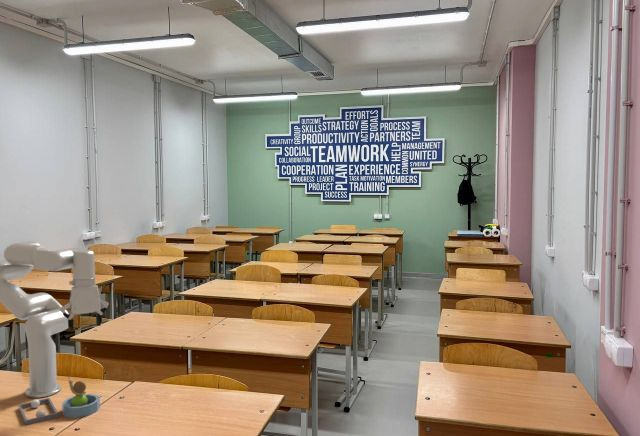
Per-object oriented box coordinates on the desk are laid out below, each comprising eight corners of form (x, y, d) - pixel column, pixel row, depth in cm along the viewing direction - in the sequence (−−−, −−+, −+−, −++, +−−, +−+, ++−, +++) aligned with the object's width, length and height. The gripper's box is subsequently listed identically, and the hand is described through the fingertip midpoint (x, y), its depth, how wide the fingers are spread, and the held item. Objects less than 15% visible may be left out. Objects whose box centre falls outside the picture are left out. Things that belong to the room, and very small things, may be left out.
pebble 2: (35, 417, 179) (34, 409, 179) (44, 415, 181) (44, 407, 181) (36, 421, 177) (36, 412, 177) (46, 418, 179) (46, 410, 179)
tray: (18, 408, 187) (18, 404, 187) (49, 401, 193) (49, 397, 193) (25, 425, 174) (25, 420, 174) (58, 417, 180) (58, 412, 180)
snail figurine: (72, 405, 188) (72, 374, 187) (90, 405, 188) (89, 374, 188) (65, 412, 183) (65, 379, 182) (83, 412, 183) (83, 379, 182)
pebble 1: (30, 407, 188) (29, 399, 188) (39, 405, 190) (39, 397, 190) (31, 410, 186) (31, 402, 186) (40, 407, 188) (40, 400, 187)
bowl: (59, 408, 187) (59, 399, 187) (94, 400, 194) (94, 391, 194) (67, 420, 178) (66, 410, 177) (103, 411, 185) (102, 402, 185)
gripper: (61, 286, 185) (62, 333, 186) (110, 281, 195) (111, 325, 196) (57, 283, 190) (58, 328, 191) (105, 279, 201) (106, 321, 202)
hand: (85, 327), depth 194 cm, fingers open, 9 cm apart
